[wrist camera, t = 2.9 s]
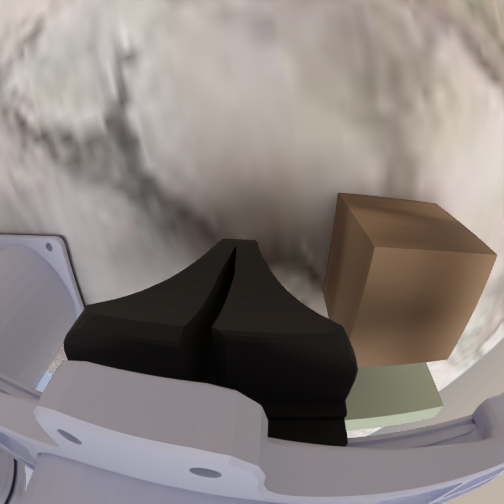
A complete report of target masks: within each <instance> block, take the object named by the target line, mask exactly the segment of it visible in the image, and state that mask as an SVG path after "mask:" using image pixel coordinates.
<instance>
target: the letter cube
mask: <svg viewBox="0 0 504 504" xmlns="http://www.w3.org/2000/svg"><path fill="white" fill-rule="evenodd" d="M496 257H497V254H496V253H495V252H494V251H493V250H491V249H490V248H489V247H488V246H487V245H486V244H485V243H484V242H483V241H481V240H480V239H479V238H478V237H477V236H476V235H474V234H473V233H472V232H471V231H470V230H469V229H467V228H466V227H465V226H464V225H463V224H461V223H460V222H459V221H458V220H456V219H455V218H454V217H453V216H451V215H450V214H449V213H448V212H446V211H445V210H444V209H442V208H441V207H440V206H439V205H437V204H434V203H427V202H419V201H412V200H404V199H396V198H387V197H378V196H368V195H358V194H347V193H338V198H337V206H336V214H335V221H334V228H333V234H332V241H331V247H330V254H329V260H328V266H327V271H326V277H325V283H324V288H323V294H324V298H325V302H326V307H327V311H328V316H329V319H330V320H332V321H334V322H336V323H338V324H340V325H342V326H343V327H344V329H345V331H346V334H347V336H348V338H349V340H350V342H351V345H352V347H353V350H354V353H355V356H356V360H357V366H358V368H363V367H379V366H392V365H404V364H414V363H423V362H431V361H438V360H446V359H448V358H449V356H450V354H451V352H452V351H453V349H454V347H455V346H456V344H457V342H458V340H459V338H460V337H461V335H462V333H463V331H464V329H465V327H466V325H467V323H468V321H469V319H470V317H471V315H472V313H473V311H474V309H475V307H476V305H477V303H478V301H479V299H480V296H481V294H482V292H483V290H484V287H485V285H486V283H487V280H488V278H489V275H490V273H491V270H492V268H493V265H494V262H495V260H496Z"/></svg>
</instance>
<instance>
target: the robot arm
mask: <svg viewBox="0 0 504 504" xmlns="http://www.w3.org/2000/svg"><path fill="white" fill-rule="evenodd" d="M50 244H51V245H50ZM51 246H52V247H51ZM63 344H64V351H65V353H66V356H67V358H68V361H63V362H62V363H61V364H60V366H59V367H58V368H57V370H56V371H55V373H54V375H53V376H52V378H51V380H50V382H49V383H48V385H47V387H46V388H45V390H44V392H43V393H42V392H39V391H37V390H35V389H36V387H37V385H38V384H39V382H40V380H41V378H42V377H43V375H44V374H45V372H46V371H47V369H48V367H49V366H50V364H51V362H52V361H53V359H54V358H55V356H56V355H57V353H58V352H59V350H60V348H61V347H62V345H63ZM357 372H358V366H357V360H356V356H355V353H354V350H353V347H352V345H351V342H350V340H349V338H348V336H347V334H346V331H345V329H344V327H343V326H342V325H340V324H338V323H336V322H334V321H332V320H330V319H328V318H326V317H323V316H321V315H320V314H318V313H316V312H315V311H313V310H311V309H310V308H308V307H307V306H305V305H304V304H303V303H301V302H300V301H299V300H297V299H296V298H295V297H294V296H292V295H291V294H290V293H289V292H288V291H287V290H286V289H285V288H284V287H283V286H282V285H281V284H280V282H279V281H278V280H277V279H276V277H275V276H274V275H273V273H272V272H271V270H270V269H269V267H268V266H267V264H266V262H265V260H264V259H263V257H262V255H261V252H260V250H259V247H258V243H257V242H256V241H255V240H240V239H222V240H221V241H220V242H219V243H218V244H216V245H215V246H214V247H213V248H212V249H211V250H209V251H208V252H207V253H206V254H205V255H203V256H202V257H201V258H200V259H198V260H197V261H196V262H194V263H193V264H191V265H190V266H189V267H187V268H186V269H184V270H183V271H181V272H180V273H178V274H176V275H174V276H173V277H171V278H169V279H167V280H165V281H163V282H161V283H159V284H157V285H154V286H152V287H150V288H147V289H145V290H143V291H140V292H137V293H134V294H131V295H128V296H125V297H122V298H118V299H114V300H110V301H105V302H100V303H96V304H91V305H87V306H86V308H85V309H84V306H83V303H82V300H81V297H80V294H79V291H78V288H77V285H76V282H75V278H74V275H73V272H72V268H71V265H70V261H69V258H68V254H67V250H66V246H65V243H64V241H63V240H62V239H61V238H60V237H57V236H32V235H1V234H0V504H442V503H445V502H447V501H450V500H452V499H454V498H457V497H459V496H462V495H464V494H466V493H468V492H470V491H473V490H475V489H477V488H479V487H481V486H483V485H485V484H487V483H489V482H491V481H492V480H493V479H495V478H496V477H498V476H499V475H501V474H502V473H503V472H504V393H502V394H499V395H496V396H493V397H490V398H488V399H486V400H485V401H484V402H482V404H480V405H479V406H478V408H477V409H476V410H475V411H474V413H473V414H472V415H469V416H466V417H462V418H459V419H455V420H451V421H447V422H444V423H440V424H435V425H431V426H426V427H422V428H417V429H412V430H407V431H401V432H396V433H388V434H382V435H375V436H366V437H357V438H347V432H346V425H345V419H344V418H345V417H346V416H347V407H346V399H347V397H348V395H349V393H350V390H351V388H352V386H353V384H354V382H355V380H356V376H357ZM25 466H27V467H28V468H30V469H31V470H33V473H32V476H31V478H30V481H29V483H28V486H27V489H26V491H25V487H26V473H25Z"/></svg>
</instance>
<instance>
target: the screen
mask: <svg viewBox="0 0 504 504" xmlns="http://www.w3.org/2000/svg"><path fill="white" fill-rule="evenodd" d="M443 406H444V405H443V403H442V400H441V398H440V395H439V393H438V390H437V388H436V385H435V383H434V380H433V378H432V376H431V373H430V371H429V369H428V366H427V364H426V362H423V363H414V364H404V365H392V366H379V367H363V368H358V372H357V376H356V380H355V382H354V384H353V386H352V388H351V390H350V393H349V395H348V397H347V399H346V407H347V416H346V417H345V418H344V419H345V425H346V431H349V430H360V429H369V428H377V427H384V426H391V425H397V424H404V423H409V422H415V421H420V420H424V419H429V418H434V417H435V416H436V414H437V413H438V412H439V410H441V408H442V407H443Z"/></svg>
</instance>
